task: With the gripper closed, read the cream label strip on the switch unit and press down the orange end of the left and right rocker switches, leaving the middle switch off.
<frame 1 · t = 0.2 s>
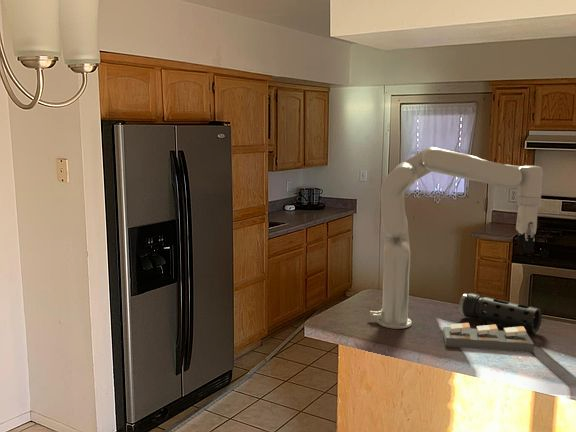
hand: (525, 249, 203), 31 cm above the counter, tool pointing down, fingers open, 9 cm apart
switch unit: (486, 343, 197), on the counter
muzzle brake: (497, 326, 214), on the counter
switch middle: (487, 329, 196), point 5 cm above the counter, hinge at -10.0°
switch left: (459, 327, 198), point 5 cm above the counter, hinge at -10.0°
switch right: (514, 331, 194), point 5 cm above the counter, hinge at -10.0°
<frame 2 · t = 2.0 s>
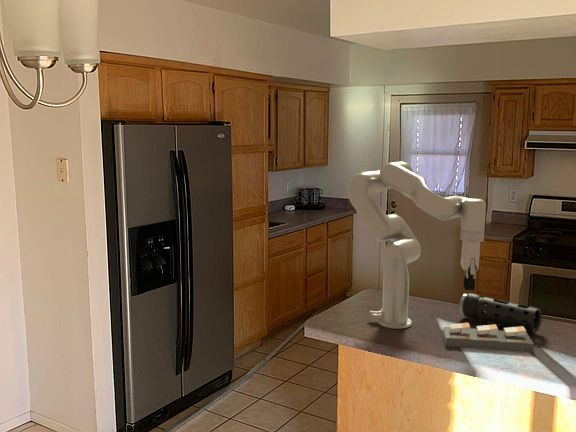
hand: (468, 288, 195), 19 cm above the counter, tool pointing down, fingers closed
nothing on the counter moved.
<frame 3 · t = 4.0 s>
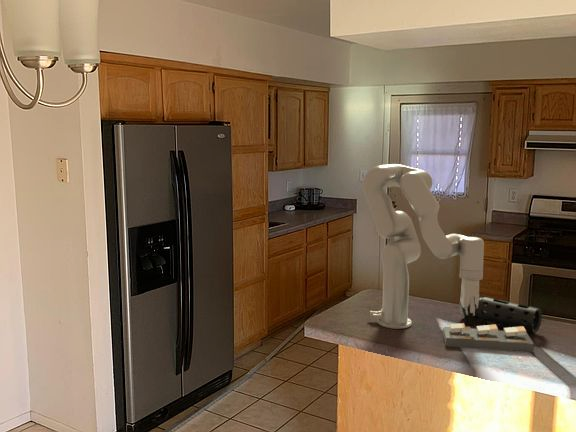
hand: (469, 325, 197), 6 cm above the counter, tool pointing down, fingers closed
switch left: (459, 327, 198), point 5 cm above the counter, hinge at -8.3°, touching gripper
everything else where it was.
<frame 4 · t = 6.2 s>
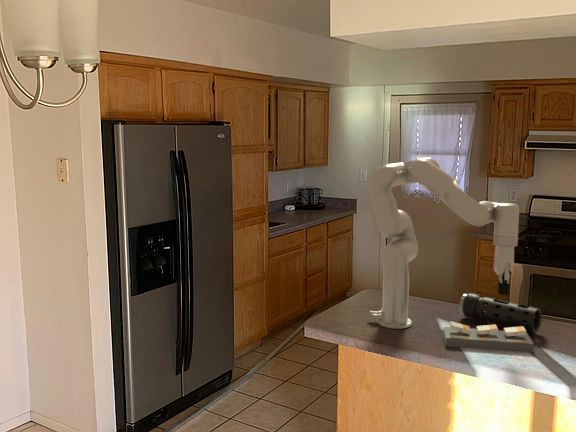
hand: (503, 293, 193), 18 cm above the counter, tool pointing down, fingers closed
switch left: (460, 327, 198), point 5 cm above the counter, hinge at 12.7°
everything else where it was.
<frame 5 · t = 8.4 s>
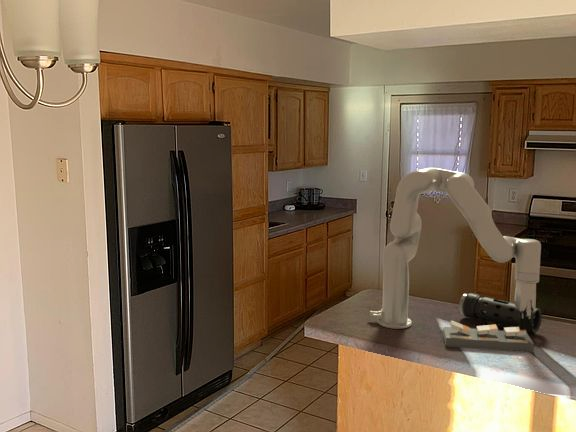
hand: (524, 328, 194), 6 cm above the counter, tool pointing down, fingers closed
switch left: (460, 327, 198), point 5 cm above the counter, hinge at 19.4°
switch right: (514, 331, 194), point 5 cm above the counter, hinge at -8.0°, touching gripper
everything else where it was.
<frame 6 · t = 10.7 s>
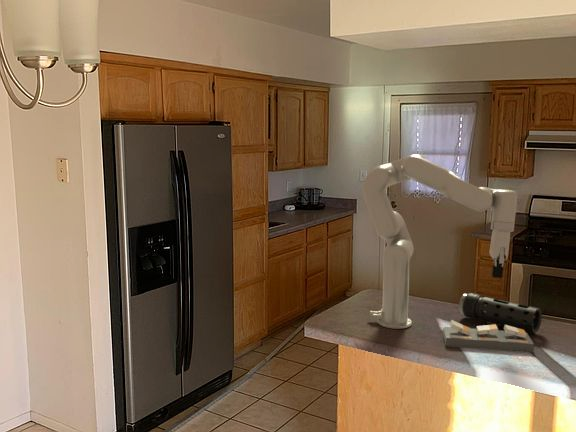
hand: (497, 277, 200), 22 cm above the counter, tool pointing down, fingers closed
switch left: (460, 327, 198), point 5 cm above the counter, hinge at 22.0°
switch right: (514, 331, 194), point 5 cm above the counter, hinge at 12.8°
everything else where it was.
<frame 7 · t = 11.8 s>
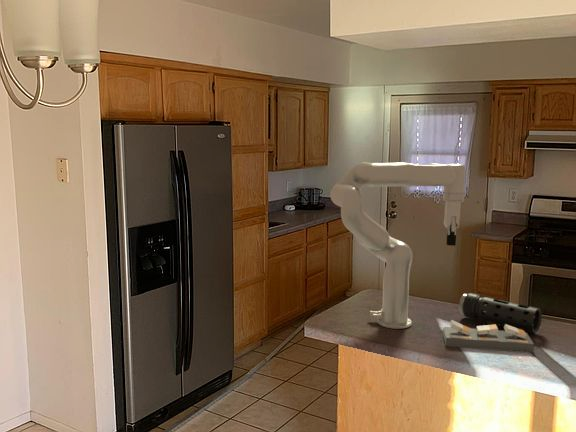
hand: (451, 244, 217), 29 cm above the counter, tool pointing down, fingers closed
switch left: (460, 327, 198), point 5 cm above the counter, hinge at 22.6°
switch right: (514, 331, 194), point 5 cm above the counter, hinge at 17.0°
everything else where it was.
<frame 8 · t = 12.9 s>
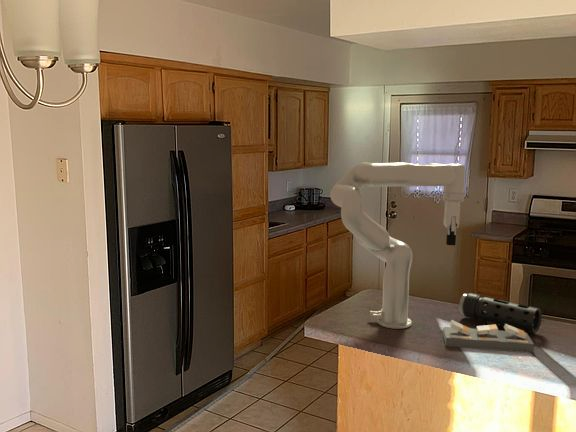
hand: (450, 244, 217), 29 cm above the counter, tool pointing down, fingers closed
switch left: (460, 327, 198), point 5 cm above the counter, hinge at 22.9°
switch right: (514, 331, 194), point 5 cm above the counter, hinge at 19.6°
everything else where it was.
at the end: switch left at +23° (first picture: -10°); switch right at +20° (first picture: -10°); switch middle at -10° (first picture: -10°) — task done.
